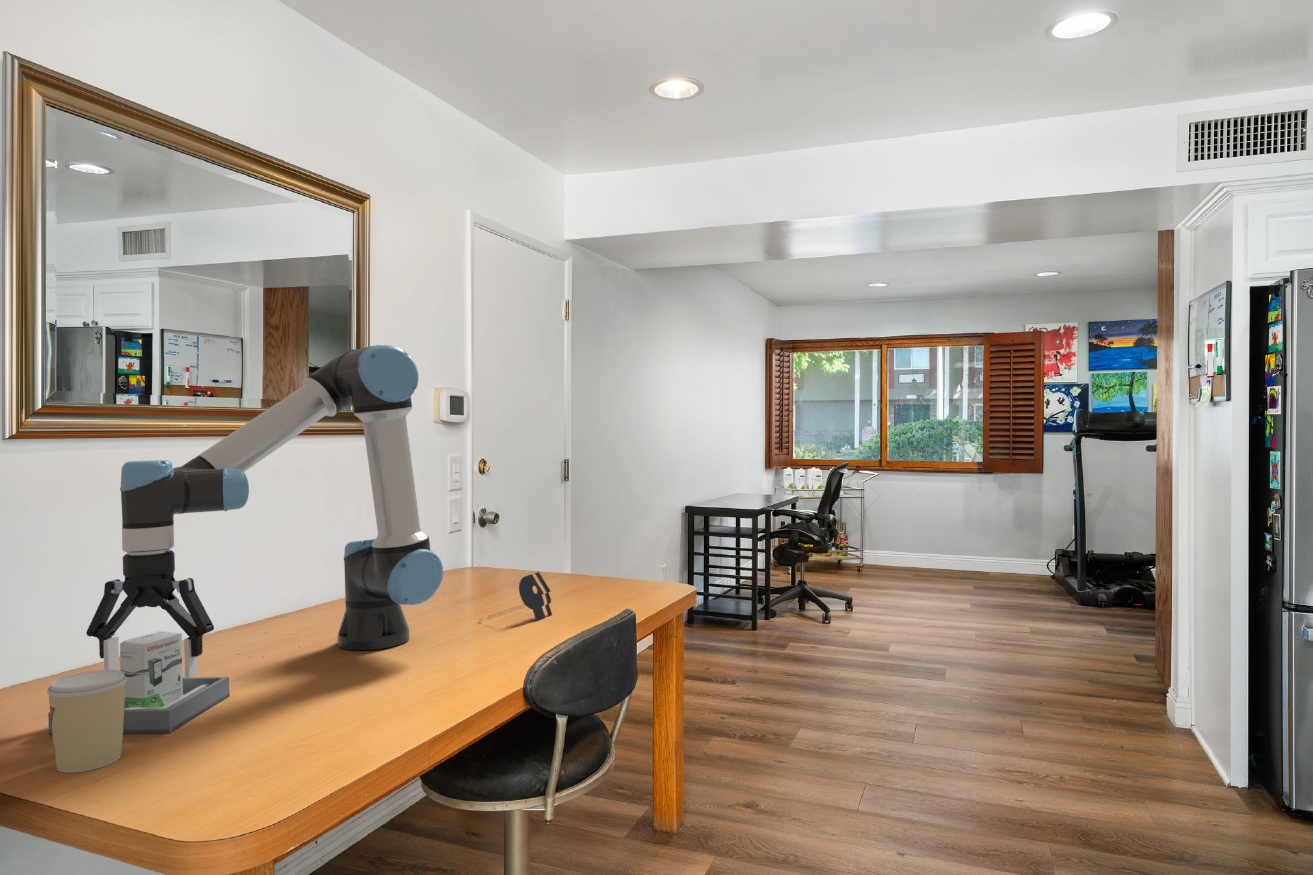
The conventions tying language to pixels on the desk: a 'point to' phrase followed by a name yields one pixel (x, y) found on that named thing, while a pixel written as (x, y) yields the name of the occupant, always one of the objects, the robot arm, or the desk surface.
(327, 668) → the desk surface
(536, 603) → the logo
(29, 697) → the desk surface
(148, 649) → the ink box
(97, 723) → the coffee cup
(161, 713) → the walled tray
